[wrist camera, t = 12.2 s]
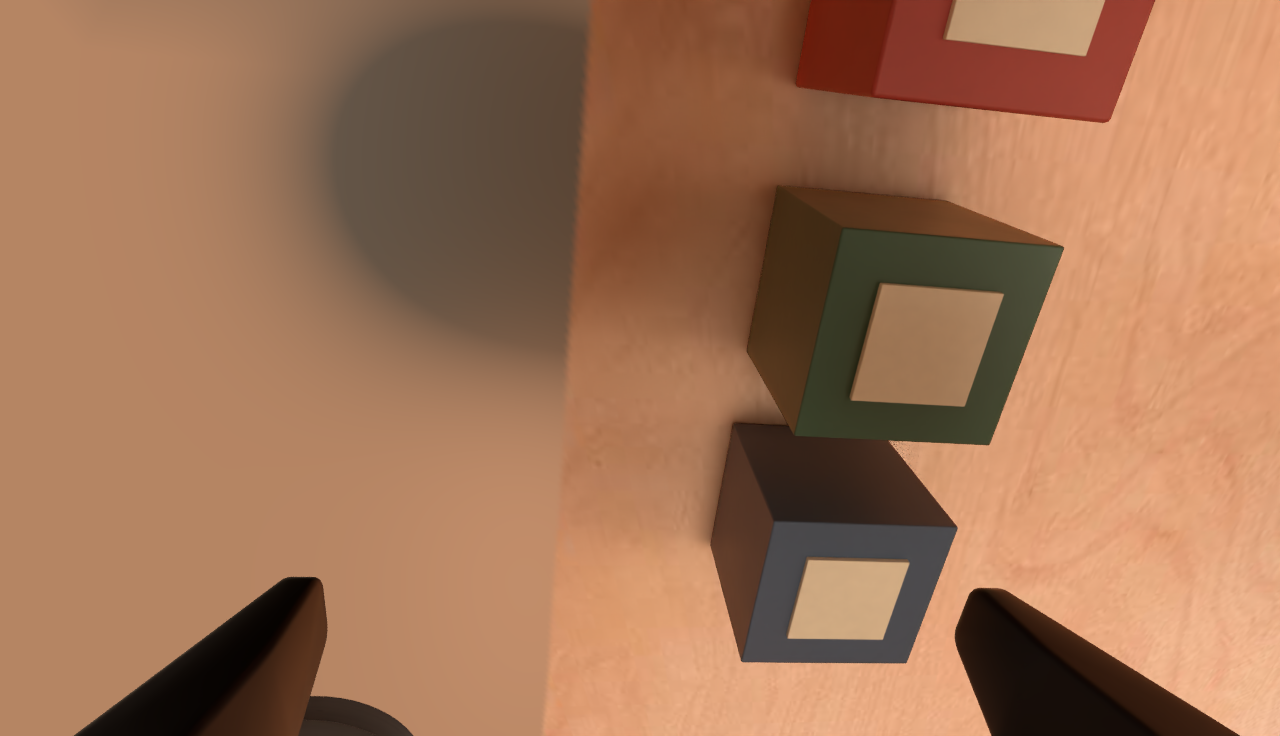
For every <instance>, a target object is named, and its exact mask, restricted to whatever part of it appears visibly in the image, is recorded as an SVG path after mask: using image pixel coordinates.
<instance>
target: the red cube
mask: <svg viewBox="0 0 1280 736" xmlns="http://www.w3.org/2000/svg"><path fill="white" fill-rule="evenodd" d="M1154 2H1155V0H811V4H810V9H809V14H808V20H807V25H806V31H805V36H804V41H803V47H802V52H801V58H800V63H799V69H798V74H797V79H796V86H797V87H799V88H807V89H814V90H821V91H829V92H836V93H844V94H851V95H859V96H866V97H874V98H883V99H892V100H901V101H910V102H919V103H928V104H937V105H946V106H955V107H964V108H973V109H982V110H991V111H1000V112H1009V113H1018V114H1027V115H1036V116H1045V117H1054V118H1063V119H1072V120H1081V121H1090V122H1099V123H1105V122H1108V121H1109V120H1110V119H1111V116H1112V114H1113V111H1114V108H1115V106H1116V103H1117V100H1118V98H1119V95H1120V92H1121V90H1122V87H1123V84H1124V82H1125V79H1126V76H1127V74H1128V71H1129V68H1130V66H1131V63H1132V60H1133V58H1134V55H1135V52H1136V50H1137V47H1138V44H1139V42H1140V39H1141V37H1142V34H1143V31H1144V29H1145V26H1146V23H1147V21H1148V18H1149V15H1150V13H1151V10H1152V7H1153V5H1154Z"/></svg>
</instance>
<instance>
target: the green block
mask: <svg viewBox="0 0 1280 736" xmlns="http://www.w3.org/2000/svg"><path fill="white" fill-rule="evenodd" d="M1063 250H1064V247H1063V246H1061V245H1058V244H1056V243H1053V242H1050V241H1048V240H1045V239H1043V238H1040V237H1038V236H1035V235H1033V234H1030V233H1028V232H1025V231H1022V230H1020V229H1017V228H1015V227H1012V226H1010V225H1007V224H1005V223H1002V222H999V221H997V220H994V219H992V218H989V217H987V216H984V215H982V214H979V213H977V212H974V211H971V210H969V209H966V208H964V207H961V206H959V205H956V204H954V203H951V202H948V201H941V200H930V199H920V198H909V197H899V196H888V195H878V194H867V193H856V192H846V191H835V190H825V189H814V188H803V187H793V186H782V185H779V186H778V187H777V191H776V197H775V202H774V208H773V213H772V218H771V224H770V229H769V234H768V240H767V245H766V250H765V256H764V261H763V267H762V272H761V277H760V283H759V288H758V293H757V299H756V304H755V309H754V315H753V320H752V326H751V331H750V336H749V342H748V347H747V353H748V354H749V356H750V358H751V360H752V361H753V363H754V365H755V367H756V369H757V370H758V372H759V374H760V376H761V377H762V379H763V381H764V383H765V384H766V386H767V388H768V390H769V392H770V393H771V395H772V397H773V399H774V400H775V402H776V404H777V406H778V408H779V409H780V411H781V413H782V415H783V416H784V418H785V420H786V422H787V423H788V425H789V427H790V429H791V431H792V432H793V434H794V435H795V436H809V437H829V438H850V439H871V440H891V441H912V442H932V443H953V444H974V445H989V444H990V442H991V439H992V437H993V434H994V431H995V429H996V426H997V424H998V421H999V418H1000V416H1001V413H1002V410H1003V408H1004V405H1005V403H1006V400H1007V397H1008V395H1009V392H1010V389H1011V387H1012V384H1013V381H1014V379H1015V376H1016V374H1017V371H1018V368H1019V366H1020V363H1021V360H1022V358H1023V355H1024V352H1025V350H1026V347H1027V345H1028V342H1029V339H1030V337H1031V334H1032V331H1033V329H1034V326H1035V323H1036V321H1037V318H1038V316H1039V313H1040V310H1041V308H1042V305H1043V302H1044V300H1045V297H1046V295H1047V292H1048V289H1049V287H1050V284H1051V281H1052V279H1053V276H1054V273H1055V271H1056V268H1057V266H1058V263H1059V260H1060V258H1061V255H1062V252H1063Z"/></svg>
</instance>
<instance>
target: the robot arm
mask: <svg viewBox="0 0 1280 736" xmlns="http://www.w3.org/2000/svg"><path fill="white" fill-rule="evenodd" d="M326 638H327V617H326V608H325V600H324V592H323V585H322V583H321V581H320V580H319V579H318V578H316V577H287V578H285V579H283V580H281V581H280V582H278V583H277V584H276V585H274V586H273V587H272V588H270V589H269V590H268V591H266V592H265V593H264V594H262V595H261V596H260V597H258V598H257V599H256V600H254V601H253V602H252V603H250V604H249V605H248V606H246V607H245V608H244V609H242V610H241V611H240V612H238V613H237V614H236V615H234V616H233V617H232V618H230V619H229V620H228V621H226V622H225V623H223V624H222V625H221V626H220V627H218V628H217V629H216V630H214V631H213V632H211V633H210V634H209V635H207V636H206V637H205V638H204V639H202V640H201V641H200V642H198V643H197V644H195V645H194V646H193V647H191V648H190V649H189V650H187V651H186V652H185V653H184V654H182V655H181V656H179V657H178V658H177V659H175V660H174V661H173V662H171V663H170V664H169V665H167V666H166V667H165V668H163V669H162V670H161V671H160V672H158V673H157V674H155V675H154V676H153V677H151V678H150V679H149V680H147V681H146V682H145V683H144V684H142V685H141V686H139V687H138V688H137V689H135V690H134V691H133V692H131V693H130V694H129V695H127V696H126V697H125V698H123V699H122V700H121V701H119V702H118V703H117V704H115V705H114V706H113V707H112V708H110V709H109V710H107V711H106V712H105V713H103V714H102V715H101V716H99V717H98V718H97V719H95V720H94V721H93V722H91V723H90V724H89V725H87V726H86V727H85V728H83V729H82V730H81V731H79V732H78V733H77V734H76V735H74V736H298V735H299V732H300V728H301V725H302V722H303V718H304V715H305V711H306V708H307V705H308V701H309V698H310V694H311V691H312V687H313V684H314V681H315V677H316V674H317V671H318V667H319V664H320V660H321V657H322V654H323V650H324V647H325V643H326ZM955 642H956V647H957V650H958V652H959V655H960V657H961V660H962V662H963V665H964V667H965V670H966V673H967V675H968V678H969V680H970V683H971V685H972V688H973V690H974V693H975V695H976V698H977V700H978V703H979V705H980V708H981V710H982V713H983V715H984V718H985V720H986V723H987V725H988V728H989V731H990V733H991V736H1240V735H1238V734H1237V733H1235V732H1233V731H1232V730H1230V729H1229V728H1227V727H1225V726H1224V725H1222V724H1220V723H1219V722H1217V721H1216V720H1214V719H1212V718H1211V717H1209V716H1208V715H1206V714H1204V713H1203V712H1201V711H1199V710H1198V709H1196V708H1195V707H1193V706H1191V705H1190V704H1188V703H1187V702H1185V701H1183V700H1182V699H1180V698H1178V697H1177V696H1175V695H1174V694H1172V693H1170V692H1169V691H1167V690H1166V689H1164V688H1162V687H1161V686H1159V685H1158V684H1156V683H1154V682H1153V681H1151V680H1149V679H1148V678H1146V677H1145V676H1143V675H1141V674H1140V673H1138V672H1137V671H1135V670H1133V669H1132V668H1130V667H1128V666H1127V665H1125V664H1124V663H1122V662H1120V661H1119V660H1117V659H1116V658H1114V657H1112V656H1111V655H1109V654H1108V653H1106V652H1104V651H1103V650H1101V649H1099V648H1098V647H1096V646H1095V645H1093V644H1091V643H1090V642H1088V641H1087V640H1085V639H1083V638H1082V637H1080V636H1079V635H1077V634H1075V633H1074V632H1072V631H1070V630H1069V629H1067V628H1066V627H1064V626H1062V625H1061V624H1059V623H1058V622H1056V621H1054V620H1053V619H1051V618H1049V617H1048V616H1046V615H1045V614H1043V613H1041V612H1040V611H1038V610H1037V609H1035V608H1033V607H1032V606H1030V605H1029V604H1027V603H1025V602H1024V601H1022V600H1020V599H1019V598H1017V597H1016V596H1014V595H1012V594H1011V593H1009V592H1007V591H1006V590H1003V589H998V588H977V589H974V590H973V591H972V592H971V593H970V594H969V596H968V599H967V601H966V604H965V606H964V609H963V611H962V614H961V617H960V619H959V622H958V624H957V627H956V630H955Z"/></svg>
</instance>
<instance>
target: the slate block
mask: <svg viewBox="0 0 1280 736" xmlns="http://www.w3.org/2000/svg"><path fill="white" fill-rule="evenodd" d="M956 531H957V526H956V525H955V523H954V522H953V521H952V520H951V518H950V517H949V516H948V515H947V513H946V512H945V511H944V510H943V508H942V507H941V506H940V505H939V503H938V502H937V501H936V500H935V498H934V497H933V496H932V495H931V494H930V492H929V491H928V490H927V489H926V487H925V486H924V485H923V484H922V482H921V481H920V480H919V479H918V477H917V476H916V475H915V474H914V472H913V471H912V470H911V469H910V467H909V466H908V465H907V464H906V462H905V461H904V460H903V459H902V457H901V456H900V455H899V454H898V452H897V451H896V450H895V449H894V447H893V446H892V445H891V444H890V442H889V441H888V440H871V439H850V438H829V437H809V436H795V435H794V434H793V432H792V431H791V429H790V427H789V426H777V425H757V424H737V423H734V424H733V428H732V433H731V438H730V444H729V449H728V454H727V460H726V465H725V470H724V476H723V481H722V487H721V492H720V497H719V503H718V508H717V513H716V519H715V524H714V529H713V535H712V540H711V549H712V553H713V557H714V560H715V564H716V568H717V572H718V575H719V579H720V583H721V587H722V590H723V594H724V598H725V602H726V606H727V609H728V613H729V617H730V621H731V624H732V628H733V632H734V636H735V639H736V643H737V647H738V651H739V655H740V658H741V661H742V662H777V663H907V660H908V658H909V655H910V653H911V650H912V647H913V645H914V642H915V639H916V637H917V634H918V631H919V629H920V626H921V624H922V621H923V618H924V616H925V613H926V610H927V608H928V605H929V602H930V600H931V597H932V595H933V592H934V589H935V587H936V584H937V581H938V579H939V576H940V573H941V571H942V568H943V566H944V563H945V560H946V558H947V555H948V552H949V550H950V547H951V545H952V542H953V539H954V537H955V534H956Z"/></svg>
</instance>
